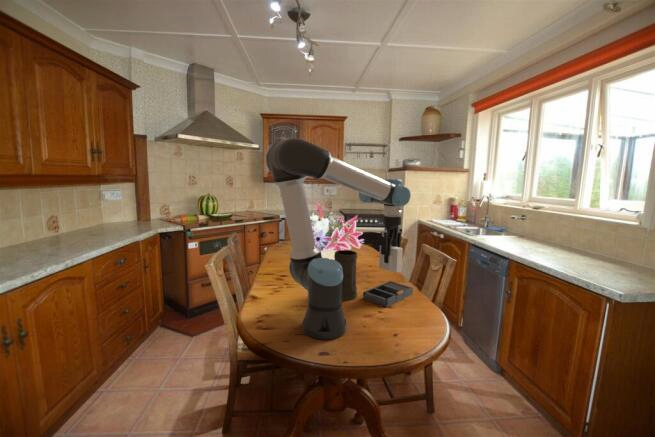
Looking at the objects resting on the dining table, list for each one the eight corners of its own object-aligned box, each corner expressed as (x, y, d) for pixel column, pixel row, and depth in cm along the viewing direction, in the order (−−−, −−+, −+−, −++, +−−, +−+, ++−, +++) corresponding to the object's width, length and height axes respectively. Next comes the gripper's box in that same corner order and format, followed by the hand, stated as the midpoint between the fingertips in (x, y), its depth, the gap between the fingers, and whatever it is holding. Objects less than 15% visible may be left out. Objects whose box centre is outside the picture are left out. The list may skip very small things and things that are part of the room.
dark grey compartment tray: (386, 307, 122) (387, 298, 122) (363, 298, 131) (363, 290, 130) (412, 294, 137) (413, 286, 136) (389, 286, 145) (390, 279, 144)
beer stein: (355, 302, 127) (357, 254, 125) (330, 299, 129) (331, 253, 127) (358, 291, 142) (360, 248, 140) (336, 288, 144) (337, 247, 142)
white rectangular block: (396, 272, 127) (397, 249, 126) (379, 268, 134) (379, 245, 132) (401, 270, 130) (402, 247, 129) (384, 266, 136) (385, 244, 135)
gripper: (388, 218, 120) (386, 275, 123) (410, 214, 132) (408, 266, 135) (373, 216, 125) (371, 270, 129) (395, 213, 137) (393, 262, 141)
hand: (390, 268), depth 132 cm, fingers closed on white rectangular block, 4 cm apart
